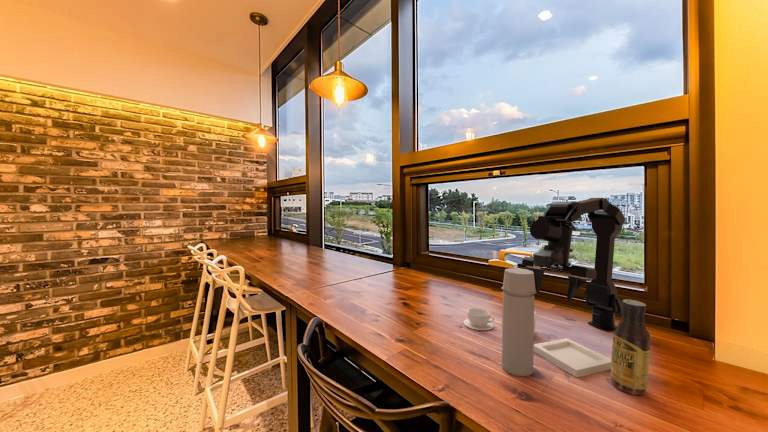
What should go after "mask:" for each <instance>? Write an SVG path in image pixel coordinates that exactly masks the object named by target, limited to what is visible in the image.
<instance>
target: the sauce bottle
mask: <svg viewBox="0 0 768 432" xmlns="http://www.w3.org/2000/svg"><path fill="white" fill-rule="evenodd" d="M621 303H622V307H623V310H622V313H621V318H620V320H619V322H618V324H617V325H616V326H617V328H616V330H614V332H613V336H612V347H611V360H612V361H611V369H610V381H611V383H612V384H613V386H614V387H615V388H617V389H619V390H621V391H623V392H624V393H626V394H630V395H635V396H643V395H645V394H646V393H647V389H648V382H649V381H648V380H649V368H650V357H651V354H650V353H651V347H650V346H651V335H650V333H649V331H648V330H647V328H646V325H645V316H646V314H645V313H646V311H647V304H646V303H645V302H641V301H639V300H634V299H622V301H621Z"/></svg>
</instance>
